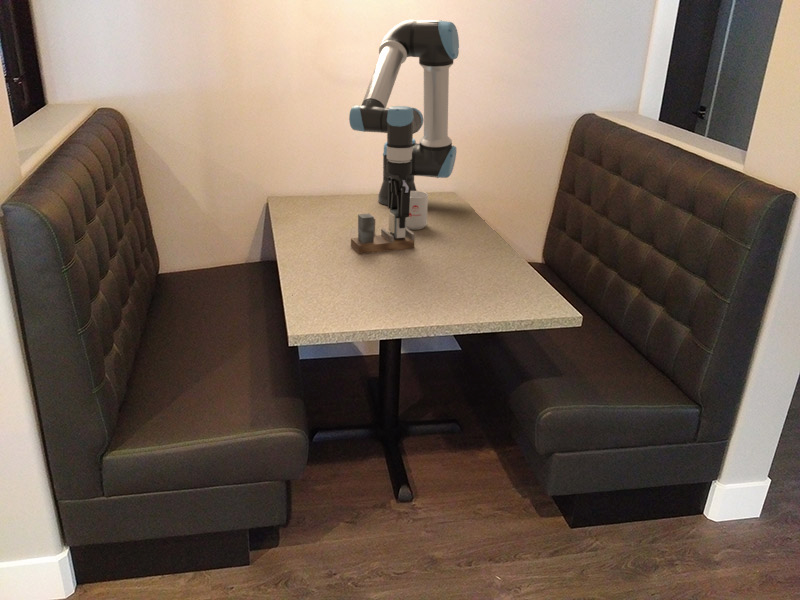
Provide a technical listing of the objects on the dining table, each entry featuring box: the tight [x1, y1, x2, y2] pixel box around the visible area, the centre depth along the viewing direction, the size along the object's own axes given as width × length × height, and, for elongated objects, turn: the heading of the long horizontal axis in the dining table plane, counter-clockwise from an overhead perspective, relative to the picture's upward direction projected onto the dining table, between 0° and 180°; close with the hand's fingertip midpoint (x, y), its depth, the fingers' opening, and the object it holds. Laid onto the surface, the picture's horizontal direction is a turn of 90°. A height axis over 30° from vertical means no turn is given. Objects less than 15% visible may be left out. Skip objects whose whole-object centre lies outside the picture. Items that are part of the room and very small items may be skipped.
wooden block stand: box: [350, 213, 416, 255], centre depth 217 cm, size 18×8×10 cm, turn 112°
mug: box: [406, 190, 429, 230], centre depth 237 cm, size 12×9×11 cm
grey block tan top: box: [388, 209, 406, 239], centre depth 218 cm, size 4×4×8 cm
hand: (397, 235), depth 220 cm, fingers closed on grey block tan top, 4 cm apart
